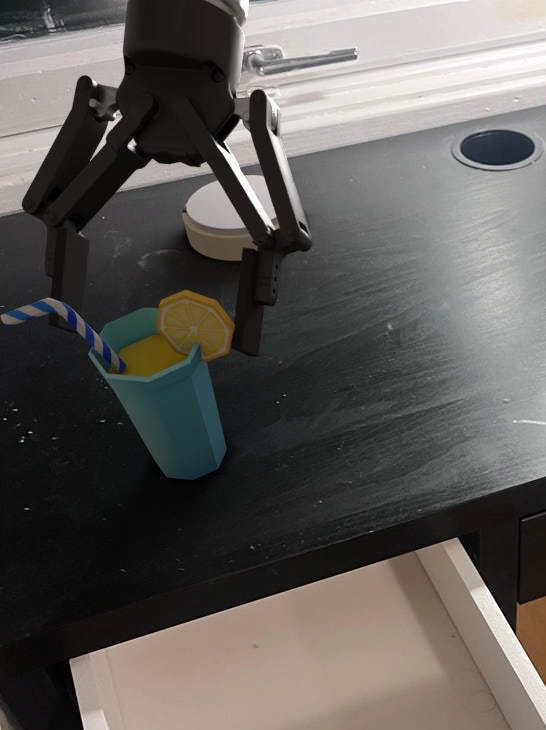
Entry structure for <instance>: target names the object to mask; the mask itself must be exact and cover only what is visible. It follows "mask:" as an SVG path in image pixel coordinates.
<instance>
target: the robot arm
mask: <svg viewBox="0 0 546 730" xmlns="http://www.w3.org/2000/svg"><path fill="white" fill-rule="evenodd" d="M249 1H250V0H127V2H126V12H125V21H124V32H123V42H122V58H123V66H124V74H123V77H122V79H121V82H120V84H119V85H118V87H116V86H115V87H114V86H110V85H105V84H101V83H98V82H97V81H96V80H95V79H93V78H92V77H91V76H89V75H87V74H83V75H81V76H79V78H78V79H77V80H76V84H75V90H74V94H73V100H72V104H71V109H70V111H69V113H68V115H67V116H66V119H65V120H64V122H63V124H62V126H61V128H60V129H59V131H58V133H57V135H56V136H55V138H54V140H53V143H52V144H51V146H50V148H49V150H48V152H47V154H46V155H45V157H44V159H43V161H42V163H41V165H40V167H38V170H37V172H36V174H35V175H34V178H33V180H32V181H31V183H30V185H29V187H28V189H27V190H26V193H25V194H24V196H23V198H22V199H21V208H22V210H23V211H24V212H25V213H26V214H28V215H30V216H32V217H34V218H36V219H38V220H39V221H41V222H43V223H44V225H45V226H46V243H45V254H44V263H43V269H44V273H45V276H47V277H48V278H52V279H51V290H50V298H51V299H54V300H58V301H60V302H62V303H64V304H67V305H69V306H70V307H71V308H72V309H73V310H74V311H75V312H76V313H77V314H78V315H79V316H80V317H81V318H82V319H83V318H84V307H85V298H86V285H87V278H88V277H87V275H88V264H89V255H90V245H91V244H90V243H91V240H90V239H89V238H87V237H86V236H84V235H83V233H82V231H83V229H85V227H86V226H87V225H88V224H89V223H90V222H91V221H92V220H93V218H95V216H96V215H97V214H98V213H99V212H100V211H101V209H103V207H104V206H106V204H107V203H108V202H109V201H110V200H111V198H113V196H114V195H115V194H116V193H117V192H118V191H119V190H120V188H121V187H122V186H123V185H124V184H125V183H126V182H127V181H128V180H129V179H130V177H131V176H132V175H133V174H134V173H135V172H136V171H138V170H142V169H144V168H146V167H147V166H148V164H150V162H151V161H152V160H154V161H155V162H156V163H158V164H160V165H161V164H162V165H172V164H173V165H175V164H179V163H181V164H183V165H186V166H187V167H191V168H201V167H202V165H203V164H205V163H206V164H207V165H208V167H209V168H210V170H211V172H212V173H213V174H214V175H213V176H215V178H216V181H219V183H220V185H221V186H222V188H223V190H224V191H225V193H226V195H227V196H228V198H229V200H230V201H231V203H232V205H233V207H234V208H235V210H236V212H237V213H238V215H239V217H240V218H241V220H242V222H243V223H244V225H245V227H246V228H247V230H248V232H249V233H250V235H251V237H252V238H253V240H254V241H252V243H253V244H254V245H256V246H257V247H258V248H257V251H256V250H255V249H253V248H244V247H243V250H242V259H241V260H240V267H239V277H238V284H237V285H238V286H237V295H236V303H235V312H234V320H233V323H234V324H235V328H234V333H233V337H232V344H231V349H232V350H234V351H237V352H238V353H241V354H243V355H245V356H248V357H254V358H259V355H260V347H261V341H262V340H261V339H262V332H263V331H262V330H263V322H264V315H265V307H267V306H268V307H275V305H276V303H277V301H278V299H279V298H278V297H279V289H280V281H281V274H282V267H283V266H282V265H283V261H284V259H285V258H286V256H288V255H290V254H292V253H293V254H294V253H297V252H302V253H306V252H309V251H310V250H311V248H312V247H313V238H312V235H311V231H310V228H309V225H308V222H307V218H306V214H305V212H304V209H303V206H302V202H301V200H300V197H299V193H298V190H297V187H296V184H295V181H294V177H293V175H292V171H291V168H290V164H289V161H288V159H287V154H286V152H285V149H284V146H283V142H282V110H281V108H280V106H279V105H278V104H276V102H274V100H273V99H272V98H271V97H270V96H269V95H268V93H266V92H265V91H264V90H262V89H261V88H258V89H254V90H253V91H252V92H250V95H249V96H247V97H238V94H237V91H238V88H239V86H240V83H241V76H242V67H243V57H244V51H245V42H246V41H245V40H246V36H245V33H244V31H243V29H242V28H243V27H244V26H245V25H246V22H247V20H248V19H247V18H248V11H249ZM117 111H118V112H119V113H120V115H121V118H120V119H119V120H117V123H116V124H114V126H113V127H112V128H111V129H110V130H109V131H108V133H107V134H106V131H107V129H108V127H109V123H112V122H114V121H115V120H116V118H117V117H116V113H117ZM240 121H242V125H243V127H244V129H246V130H247V131H248V132H249V133H250V137H251V140H252V144H253V147H254V150H255V154H256V157H257V159H258V160H257V161H258V163H259V166H260V170H261V172H262V176H264V179H265V182H266V185H267V188H268V192H269V195H270V198H271V201H272V204H273V207H274V211H275V214H276V217H277V220H278V223H279V226H280V229H275V227H274V225H273V224H272V222H271V220H270V219H269V217H268V215H267V214H266V212H265V210H264V209H263V207H262V205H261V204H260V202H259V200H258V199H257V197H256V195H255V194H254V192H253V190H252V188H251V187H250V185H249V183H248V182H247V180H246V178H245V177H244V176H245V175H244V173H243V172H242V170H241V169H240V164H239V162H238V161H237V159H236V157H235V156H234V153H233V152H232V151H231V149H230V148H229V146H228V144H227V143H226V141H227V139H228V138H229V136H230V134H231V133H233V131H234V130H235V129H236V127H237V126H238V124H239V123H240ZM105 134H106V135H105ZM104 136H105V144H104V145H103V146H102V147H101V148H100V149H99V151H97V149H98V148H99V146H100V144H101V142H102V140H103V139H104ZM132 141H134V143H135V145H132V144H130V143H131V142H132ZM96 152H97V153H96ZM95 153H96V154H95ZM83 320H84V319H83ZM47 325H48V326H50V327H53V328H57V329H60V330H62V331H64V332H68V333H72V334H77V335H78V334H79V335H81V334H80V333H79V332H78V331H77V330H76V329H75V328H74V327H73V326H72V325H71V324H70V323H69V322H68V321H67V320H66V319H65V318H64V317H63V316H61V315H59V314H56V313H52V312H51V313H48V324H47ZM231 349H230V350H231Z"/></svg>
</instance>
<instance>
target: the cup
mask: <svg viewBox="0 0 546 730" xmlns="http://www.w3.org/2000/svg"><path fill="white" fill-rule="evenodd" d="M51 312H52V313H56V314H59V315H61V316H63V317H64V318H65V319H66V320H67V321H68V322H69V323H70V324H71V325H72V326H73V327H74V328H75V329H76V330H77V331H78V332H79V333H80V334H79V335H80V336H81V337H82V338H83V339H84V340H85V341H86V342H87V343H88V344H89V345H90V346H91V348H90V350H89V351H88V353H87V355H88V357H89V358H90V360H91V361H92V363H93V364H94V366H95V367H96V369H97V370H98V372H99V373H100V374H101V375H102V377H103V378H104V380H105V381H106V382H107V384H108V385H109V386H110V388H111V389H112V390H113V391H114V393H115V394H116V397H117V398H118V400H119V401H120V403H121V405H122V407H123V409H124V410H125V413H126V415H128V417H129V419H130V420H131V422H132V424H133V426H134V427H135V429H136V431H137V433H138V434H139V436H140V438H141V439H142V442H144V444H145V447H146V448H147V450H148V451H149V453H150V455H151V456H152V457H151V458H153V460H154V462H155V463H156V465H157V466H158V467H159V469H160V470H161V471H162V473H163V474H164V476H165V477H166V478H171V479H178V480H179V479H180V480H187V481H189V480H191V481H194V480H197V479H198V478H201V477H203V476H205V475H207V474H209V473H212V472H215V471H216V470H219V468H220V466H221V464H222V461H223V459H224V457H225V455H226V453H227V450H228V448H227V445H226V440H225V436H224V431H223V426H222V422H221V418H220V414H219V410H218V406H217V405H218V404H217V400H216V397H215V391H214V388H213V383H212V379H211V374H210V370H209V366H208V365H209V364H208V362H210V361H213V360H215V359H218V358H221V357H223V356H226V355H228V354H230V351H231V345H232V337H233V333H234V328H235V324H234V321H233V320H232V319H231V318H230V316H229V315H228V314H227V312H226V311H225V310H224V308H223V307H222V306H221V304H220V303H219V301H218V300H216V299H213V298H210V297H207V296H205V295H202V294H200V293H196V292H193V291H190V290H188V289H183V290H181V291H179V292H177V293H174V294H172V295H170V296H168V297H165V298H162V299H161V300H160V302H159V304H158V308H155V307H145V306H144V307H142V308H139V309H136V310H135V311H132V312H130V313H128V314H126V315H123V316H121V317H118V318H116V319H115V320H112V321H109V322H107V323H105V325H104V326H103V328H102V329H101V332H100V333H99V334H97V332H95V330H93V328H92V327H90V325H89V324H88V323H87V322H86V321H85V320H84V319H82V318H81V317H80V316H79V315H78V314H77V313H76V312H75V311H74V310H73V309H72V308H71V307H70V306H69V305H67V304H64V303H62V302H60V301H58V300H54V299H51V297H46V298H43V299H41V300H40V299H39V300H38V301H35V302H32V303H29V304H26V305H24V306H21V307H18V308H16V309H13V310H12V309H11V310H10V311H6V312H4V313H2V314H1V315H0V320H1V322H2V323H3V325H4V326H6V327H7V328H8V327H9V328H10V327H12V326H15V325H17V324H18V325H19V324H21V323H25V322H27V321H30V320H32V319H35V318H39V317H42V316H46V315H49V313H51Z"/></svg>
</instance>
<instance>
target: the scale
mask: <svg viewBox="0 0 546 730" xmlns="http://www.w3.org/2000/svg"><path fill="white" fill-rule="evenodd" d="M244 177H245V178H246V180H247V182H248V183H249V185H250V187H251V188H252V190H253V192H254V194H255V195H256V197H257V199H258V200H259V202H260V204H261V205H262V207H263V209H264V210H265V212H266V214H267V215H268V217H269V219H270V220H271V222H272V224H273V225H274V227H275V229H280V226H279V223H278V220H277V217H276V214H275V211H274V207H273V204H272V201H271V198H270V195H269V192H268V188H267V185H266V182H265V179H264V176H263V175H256V174H255V175H253V174H252V175H249V174H246V175H244ZM181 211H182V221H183V223H184V228H185V231H186V235H187V238H188V241H189V244H190V246H191V248H193V249H194V250H195V251H196V252H197V253H199V254H201V255H203V256H205V257H208V258H210V259H215V260H220V261H229V262H231V261H232V262H234V261H235V262H236V261H237V262H238V261H240V262H241V259H242V250H243V247H244V248H253V249H255V250H256V251H257V248H258V247H257V246H256V245H254V244H253V243H252V241H254V240H253V238H252V237H251V235H250V233H249V232H248V230H247V228H246V227H245V225H244V223H243V222H242V220H241V218H240V217H239V215H238V213H237V212H236V210H235V208H234V207H233V205H232V203H231V201H230V200H229V198H228V196H227V195H226V193H225V191H224V190H223V188H222V186H221V185H220V183H219V181H218V180H215V181H212V182H210V183H208V184H206V185H204V186H202V187H201V188H199V189H197V190H195V192H194V193H192V195H190V197H189V199H188V200H187V202H186V204H184V207H183V209H182V210H181Z"/></svg>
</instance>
